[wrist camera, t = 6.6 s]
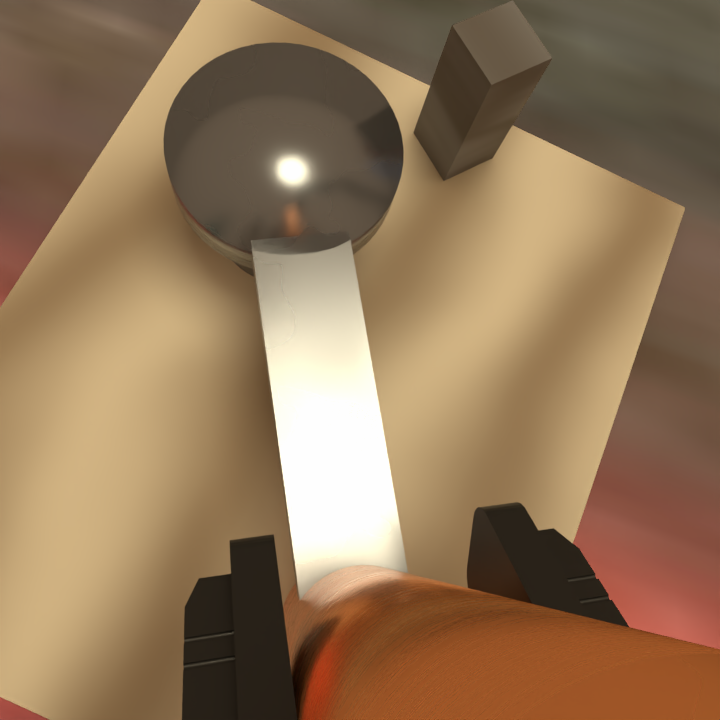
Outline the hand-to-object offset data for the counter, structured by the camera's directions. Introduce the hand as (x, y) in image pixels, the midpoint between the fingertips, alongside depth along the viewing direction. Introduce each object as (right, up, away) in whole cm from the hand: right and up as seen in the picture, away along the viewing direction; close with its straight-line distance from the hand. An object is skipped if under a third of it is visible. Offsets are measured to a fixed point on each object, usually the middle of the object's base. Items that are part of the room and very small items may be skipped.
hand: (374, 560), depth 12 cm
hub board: (-2, +3, +9) cm, 10 cm away
